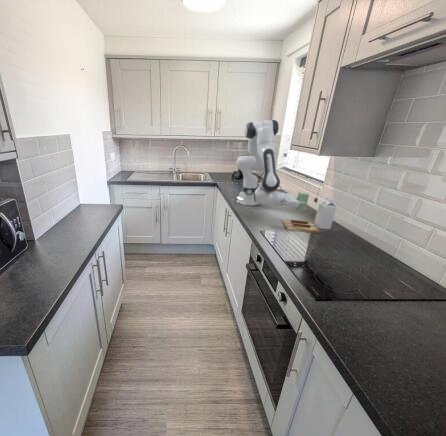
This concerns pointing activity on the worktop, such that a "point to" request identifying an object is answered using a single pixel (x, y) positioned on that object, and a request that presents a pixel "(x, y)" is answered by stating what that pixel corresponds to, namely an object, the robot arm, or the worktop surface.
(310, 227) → the base pad
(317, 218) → the milk carton
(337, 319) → the worktop surface
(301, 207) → the back pad
